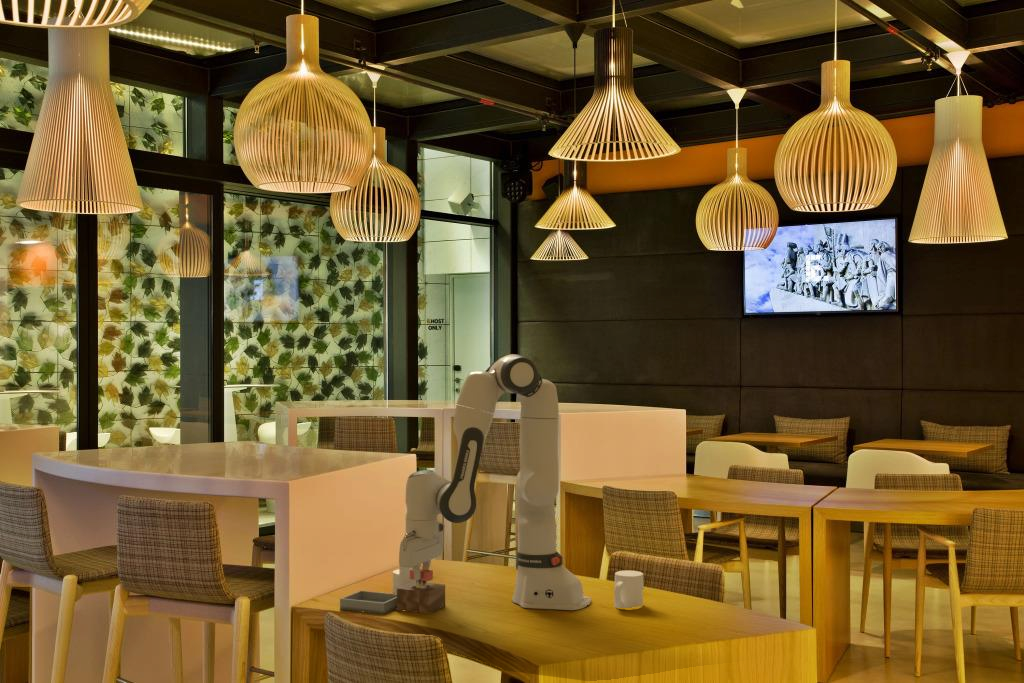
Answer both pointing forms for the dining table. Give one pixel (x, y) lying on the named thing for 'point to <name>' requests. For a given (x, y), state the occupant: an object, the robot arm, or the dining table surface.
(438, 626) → the dining table surface
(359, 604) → the tray
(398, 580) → the base with upright slab
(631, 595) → the mug
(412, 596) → the wooden square hole block
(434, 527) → the robot arm
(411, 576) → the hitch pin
